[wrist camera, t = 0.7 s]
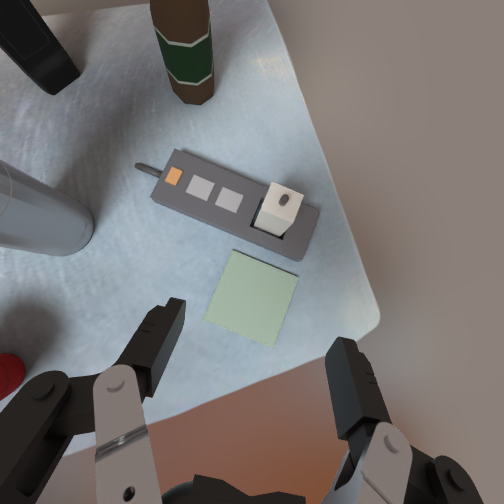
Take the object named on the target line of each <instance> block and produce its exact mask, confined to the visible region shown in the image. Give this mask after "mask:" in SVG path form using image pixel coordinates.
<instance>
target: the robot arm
mask: <svg viewBox="0 0 504 504" xmlns="http://www.w3.org/2000/svg"><path fill="white" fill-rule="evenodd" d="M93 228H94V224H93V218H92V215H91V214H90V212H89V210H88V209H87V208H86V207H85V206H83V205H82V204H81V203H79V202H77V201H75V200H73V199H72V198H70V197H68V196H66V195H64V194H63V193H61V192H59V191H57V190H55V189H53V188H52V187H50V186H48V185H46V184H44V183H42V182H40V181H39V180H37V179H35V178H33V177H31V176H29V175H28V174H26V173H24V172H22V171H20V170H18V169H17V168H15V167H13V166H11V165H9V164H7V163H5V162H4V161H2V160H0V247H4V248H10V249H16V250H22V251H28V252H34V253H40V254H46V255H52V256H66V255H71V254H73V253H75V252H77V251H79V250H80V249H82V248H83V247H84V246H85V245H86V244H87V243H88V241H89V240H90V238H91V236H92V233H93ZM185 309H186V300H182V299H177V298H173V297H171V298H170V299H169V301H168V302H167V304H166V306H165V307H163V306H159V305H157V306H156V307H154V308H153V309H152V310H150V311H149V312H148V313H147V315H146V316H145V318H144V320H143V321H142V323H141V324H140V326H139V327H138V329H137V331H136V332H135V334H134V335H133V337H132V338H131V340H130V341H129V343H128V344H127V346H126V348H125V349H124V351H123V352H122V354H121V355H120V357H119V359H118V360H117V361H116V362H115V363H114V365H112V366H111V367H110V368H108V369H106V370H105V371H103V372H101V373H99V374H95V375H89V376H81V377H72V378H68V376H67V375H66V374H65V373H64V372H62V371H48V372H44V373H41V374H39V375H37V376H35V377H34V378H32V379H31V380H29V381H28V382H27V383H26V384H25V385H24V386H23V387H22V388H21V389H20V390H19V392H18V393H17V394H16V395H15V396H14V397H13V399H12V400H11V401H10V402H9V403H8V405H7V406H6V407H5V408H4V409H3V410H2V412H1V413H0V504H35V503H36V501H37V500H38V498H39V496H40V494H41V493H42V491H43V489H44V487H45V486H46V483H47V482H48V480H49V479H50V477H51V475H52V473H53V472H54V470H55V468H56V466H57V465H58V463H59V461H60V459H61V458H62V456H63V454H64V452H65V451H66V449H67V447H68V445H69V444H70V442H71V440H72V438H73V436H74V435H78V434H84V433H89V432H95V431H96V447H97V448H96V455H95V473H96V491H97V504H306V500H305V497H303V496H297V495H293V494H288V493H283V492H273V493H268V494H262V495H257V496H248V495H246V494H244V493H243V492H241V491H240V490H238V489H236V488H235V487H233V486H231V485H230V484H228V483H226V482H225V481H223V480H220V479H216V478H211V477H206V476H201V475H196V474H195V476H194V479H193V481H190V482H185V483H182V484H180V485H177V486H175V487H173V488H172V489H170V490H169V491H167V492H166V493H164V494H163V495H162V496H161V494H160V489H159V485H158V479H157V474H156V470H155V464H154V459H153V454H152V450H151V445H150V440H149V435H148V430H147V428H146V424H145V419H144V414H143V409H142V403H143V401H144V399H145V397H151V398H152V397H153V395H154V393H155V390H156V388H157V386H158V384H159V381H160V379H161V377H162V374H163V372H164V370H165V368H166V365H167V363H168V361H169V358H170V356H171V354H172V352H173V349H174V347H175V345H176V343H177V340H178V338H179V336H180V333H181V331H182V328H183V325H184V320H185ZM325 367H326V373H327V378H328V384H329V390H330V395H331V400H332V406H333V412H334V417H335V423H336V428H337V434H338V439H341V440H345V441H348V445H349V449H348V450H347V451H346V454H345V456H344V458H343V461H342V463H341V465H340V467H339V470H338V472H337V474H336V477H335V479H334V481H333V483H332V486H331V488H330V490H329V492H328V494H327V495H326V496H325V498H324V499H323V500H322V502H321V504H484V503H483V502H482V499H481V497H480V495H479V493H478V491H477V489H476V487H475V485H474V483H473V481H472V480H471V478H470V476H469V475H468V474H467V472H466V471H465V470H464V469H463V468H462V467H461V466H460V465H459V464H458V463H457V462H456V461H454V460H453V459H451V458H449V457H447V456H443V455H442V456H438V457H436V458H435V459H433V458H431V457H430V456H428V455H426V454H424V453H423V452H421V451H419V450H418V449H416V448H414V447H413V446H411V445H410V444H409V443H408V441H407V439H406V438H405V436H404V435H403V434H402V432H401V431H400V430H399V429H398V428H396V427H395V426H393V424H392V422H391V420H390V417H389V414H388V411H387V408H386V406H385V403H384V400H383V397H382V394H381V392H380V389H379V387H378V385H377V381H376V378H375V377H374V372H373V370H372V367H371V364H370V362H369V361H368V360H367V358H366V356H365V355H364V354H363V353H361V352H359V350H358V348H357V344H356V342H355V341H354V340H352V339H348V338H344V337H337V338H336V340H335V341H334V343H333V344H332V346H331V347H330V349H329V350H328V352H327V354H326V357H325Z"/></svg>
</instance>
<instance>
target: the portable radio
mask: <svg viewBox="0 0 504 504" xmlns="http://www.w3.org/2000/svg"><path fill="white" fill-rule="evenodd" d="M0 48H1V49H2V50H3V51H4V52H5V53H6V54H7V55H8V56H9V57H10V58H11V59H12V60H13V61H14V62H15V63H16V64H17V65H18V66H19V67H20V69H21V70H22V71H23V72H24V73H25V74H26V75H27V76H29V77H30V78H31V79H32V80H33V81H34V82H35V83H36V84H37V85H38V86H39V87H40V88H41V89H42V90H44V91H45V92H47V93H48V94H51V95H55V94H56V93H58V92H59V91H60V90H61V89H63V88H64V87H65V86H67V85H68V84H69V83H71V82H72V81H73V80H75V79H76V78H77V77H79V76H80V73H79V71H78V69H77V68H76V66H75V65H74V63H73V62H72V60H71V58H70V57H69V55H68V54H67V52H66V51H65V50H64V49H63V47H62V46H61V44H60V43H59V42H58V40H57V39H56V37H55V36H54V35H53V33H52V32H51V30H50V29H49V27H48V26H47V25H46V23H45V22H44V20H43V19H42V17H41V16H40V15H39V13H38V12H37V10H36V9H35V8H34V6H33V5H32V3H31V2H30V0H0Z"/></svg>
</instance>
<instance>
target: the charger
mask: <svg viewBox="0 0 504 504" xmlns="http://www.w3.org/2000/svg"><path fill="white" fill-rule="evenodd" d="M303 196H304V195H303V194H300V193H298V192H296V191H293V190H291V189H289V188H286V187H284V186H282V185H279V184H277V183H275V182H272V183H271V185H270V188H269V190H268V192H267V195H266V197H265V200H264V202H263V204H262V207H261V209H260V212H259V214H258V217H257V219H256V221H255V224H254V226H253V228H255V229H257V230H259V231H262V232H264V233H266V234H269V235H271V236H274V237H276V238H278V237H280V236H281V235H282V234H283V233H284V232H285V231H286V230H287V229H288V228H289V227H290V226H291V225H292V224H293V222H294V220H295V217H296V215H297V212H298V209H299V207H300V204H301V202H302V199H303Z"/></svg>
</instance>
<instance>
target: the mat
mask: <svg viewBox="0 0 504 504" xmlns="http://www.w3.org/2000/svg"><path fill="white" fill-rule="evenodd" d="M298 279H299V277H296V276H294V275H291V274H289V273H287V272H284V271H282V270H279V269H277V268H275V267H272V266H270V265H267V264H265V263H263V262H260V261H258V260H255V259H253V258H251V257H248V256H246V255H243V254H241V253H239V252H236V251H234V250H232V252H231V255H230V257H229V259H228V262H227V264H226V266H225V269H224V271H223V273H222V276H221V278H220V281H219V283H218V285H217V288H216V290H215V292H214V295H213V297H212V299H211V302H210V304H209V306H208V309H207V311H206V313H205V316H204V318H203V320H205V321H207V322H210V323H212V324H215V325H217V326H220V327H222V328H225V329H227V330H230V331H232V332H235V333H237V334H240V335H242V336H245V337H247V338H250V339H252V340H254V341H257V342H259V343H262V344H264V345H267V346H269V347H272V348H273V347H274V344H275V342H276V339H277V336H278V333H279V331H280V328H281V325H282V323H283V320H284V317H285V314H286V312H287V309H288V306H289V303H290V301H291V298H292V295H293V292H294V290H295V287H296V284H297V281H298Z"/></svg>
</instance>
